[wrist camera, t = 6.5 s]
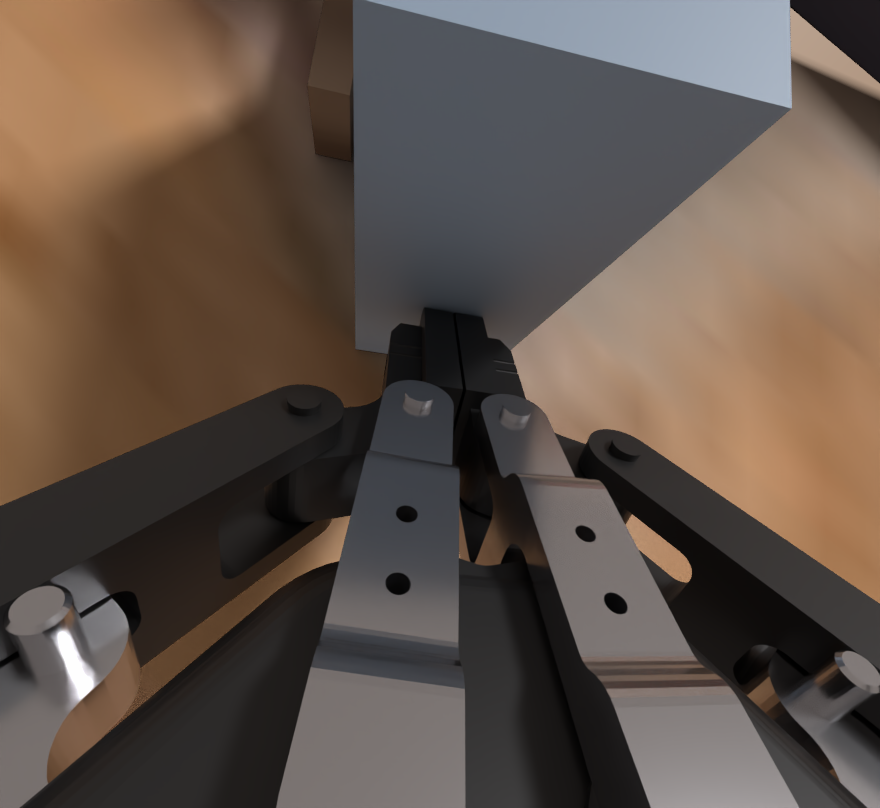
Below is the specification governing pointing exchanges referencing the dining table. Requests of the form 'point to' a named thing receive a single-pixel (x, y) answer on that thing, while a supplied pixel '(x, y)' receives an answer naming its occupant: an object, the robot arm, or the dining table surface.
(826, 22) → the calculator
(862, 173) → the dining table surface
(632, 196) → the loose book
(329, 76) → the book rack
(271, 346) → the dining table surface
